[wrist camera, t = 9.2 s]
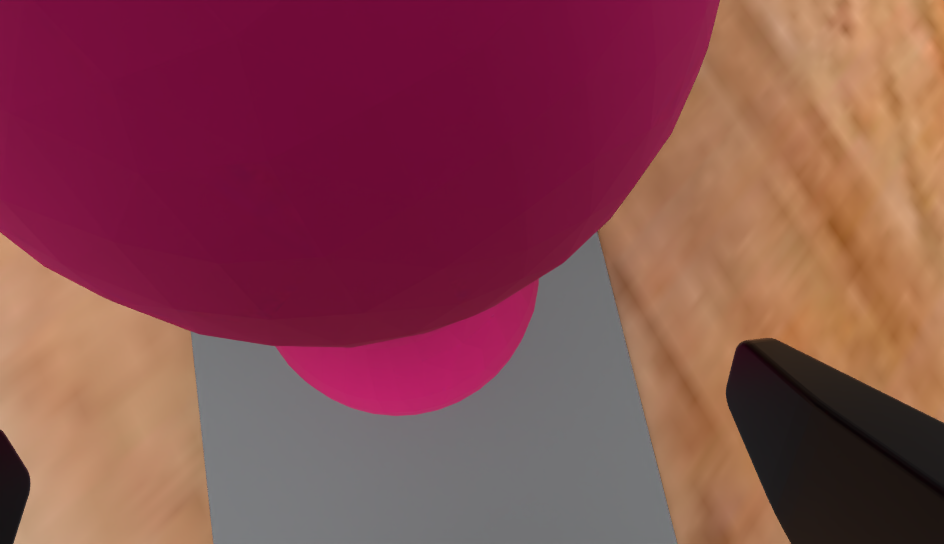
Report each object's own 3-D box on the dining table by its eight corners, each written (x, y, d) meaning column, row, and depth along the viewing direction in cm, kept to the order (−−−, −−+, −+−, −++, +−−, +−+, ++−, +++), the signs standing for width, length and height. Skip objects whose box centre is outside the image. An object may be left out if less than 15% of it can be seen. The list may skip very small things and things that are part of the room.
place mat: (674, 557, 20) (682, 561, 19) (234, 666, 18) (227, 674, 17) (537, 19, 24) (540, 9, 23) (169, 71, 22) (162, 61, 22)
